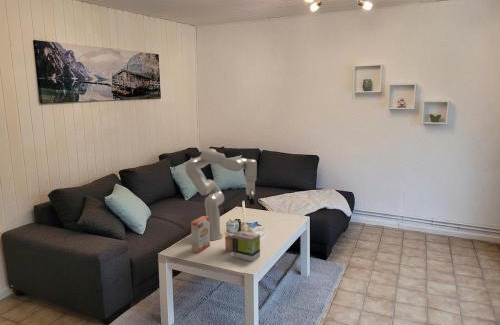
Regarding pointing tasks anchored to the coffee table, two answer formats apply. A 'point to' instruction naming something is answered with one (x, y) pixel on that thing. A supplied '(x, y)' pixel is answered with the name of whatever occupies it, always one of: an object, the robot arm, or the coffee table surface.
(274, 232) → the coffee table surface
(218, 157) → the robot arm
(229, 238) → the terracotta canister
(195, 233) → the cracker box
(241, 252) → the tea box
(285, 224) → the coffee table surface
